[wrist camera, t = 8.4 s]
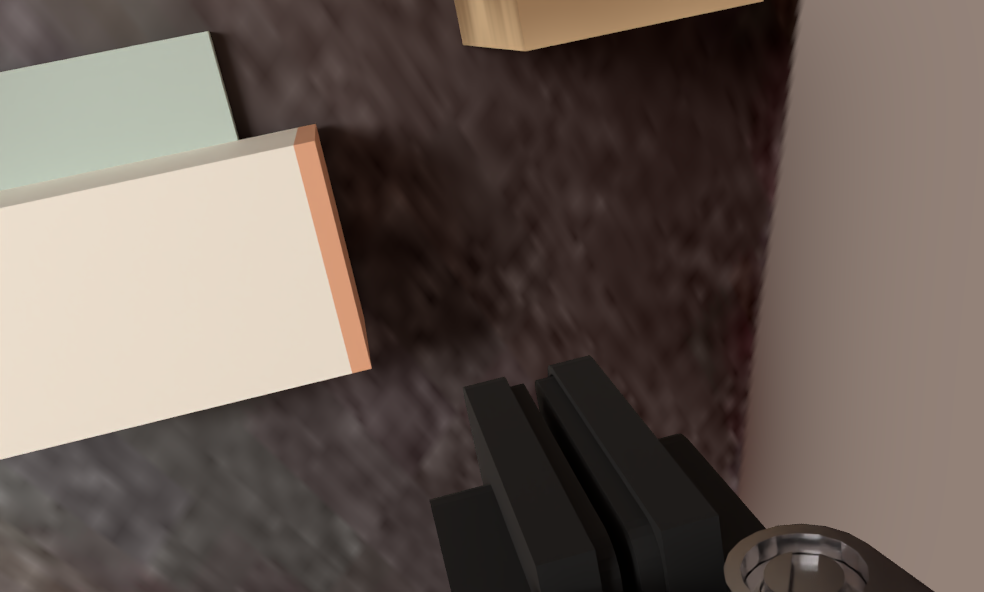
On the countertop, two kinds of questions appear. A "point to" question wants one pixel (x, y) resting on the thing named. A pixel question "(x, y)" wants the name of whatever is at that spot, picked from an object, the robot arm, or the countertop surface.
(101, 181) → the cream block
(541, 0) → the oak block
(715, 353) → the countertop surface
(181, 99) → the mat
